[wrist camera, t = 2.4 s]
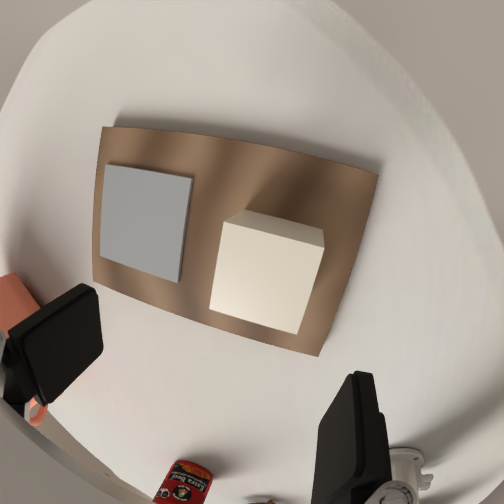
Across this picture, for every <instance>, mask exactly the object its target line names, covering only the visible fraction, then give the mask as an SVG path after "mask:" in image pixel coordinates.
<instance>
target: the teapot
mask: <svg viewBox="0 0 504 504" xmlns="http://www.w3.org/2000/svg"><path fill="white" fill-rule="evenodd" d="M39 309H41V308H40V306H39V305H38V304H37V302H36V301H35V300H34V298H33V297H32V294H31V293H30V291H29V290H28V289H27V288H26V287H25V286H24V285H23V283H22V282H21V280H20V279H19V277H18V276H17V274H16V273H11V274H8V275H5V276H3V277H0V330H1V331H3V333H4V334H5V336H6V339H7V338H9V335H8V332H7V331H8V330H9V329H11V328H12V327H14V326H15V325H17V324H18V323H20V322H21V321H22V320H24V319H25V318H27V317H28V316H30V315H31V314H33V313H35V312H36V311H38V310H39ZM63 392H64V391H63ZM63 392H62V393H63ZM62 393H61V394H62ZM61 394H60V395H61ZM60 395H59V396H60ZM36 403H38V402H36V401H35V399H34V397H33V398H32V399H31V401H30V409H31V408H32V407H33V406H34V405H35V404H36ZM47 408H48V404H47V405H46V406H45V407H43V406H41V405H40V407H39V411H38V413H37V415H36V416H35V417H33V418H30V425H32V426H37V425H39V424H41V423H42V422H43V421H44V419H45V416H46V413H47Z"/></svg>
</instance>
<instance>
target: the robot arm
mask: <svg viewBox="0 0 504 504" xmlns="http://www.w3.org/2000/svg"><path fill="white" fill-rule="evenodd" d="M7 332H8V335H9V338H7V339H6V336H5V334H4V333H3V331H1V330H0V504H157V503H154V502H152V501H150V500H148V499H145V498H143V497H141V496H139V495H137V494H135V493H133V492H131V491H129V490H127V489H125V488H123V487H121V486H119V485H117V484H115V483H114V482H112V481H110V480H108V479H106V478H105V477H103V476H101V475H100V474H98V473H96V472H95V471H93V470H91V469H90V468H88V467H87V466H85V465H84V464H82V463H81V462H79V461H78V460H76V459H75V458H73V457H72V456H70V455H69V454H67V453H66V452H65V451H63V450H62V449H60V448H59V447H58V446H56V445H55V444H54V443H52V442H51V441H50V440H49V439H47V438H46V437H45V436H43V435H42V434H41V433H40V432H39V431H37V430H36V429H35V428H34V427H33V426H32V425H30V401H31V399H32V398H33V397H34V399H35V401H36V402H38V403H39V404H40V405H41V406H43V407H45V406H46V405H47V404H48V403H52V402H54V400H55V399H56V398H57V397H58V396H59V395H60V394H61V393H62V392H63V391H64V390H65V389H66V388H67V387H68V386H69V385H70V384H71V383H72V382H73V381H74V380H75V379H76V378H77V377H78V376H79V375H80V374H81V373H82V372H83V371H84V370H85V369H86V368H87V367H88V366H90V365H91V364H92V363H93V362H94V361H95V360H96V359H97V358H98V357H99V356H100V355H101V353H102V351H103V339H102V331H101V322H100V312H99V301H98V295H97V294H96V290H95V289H94V288H92V287H90V286H88V285H86V284H84V283H81V284H79V285H77V286H76V287H74V288H72V289H71V290H69V291H67V292H66V293H64V294H63V295H61V296H59V297H58V298H56V299H55V300H53V301H52V302H50V303H48V304H47V305H45V306H44V307H42V308H41V309H39V310H38V311H36V312H35V313H33V314H31V315H30V316H28V317H27V318H25V319H24V320H22V321H21V322H20V323H18V324H17V325H15V326H14V327H12V328H11V329H9V330H8V331H7ZM423 464H424V458H423V455H422V453H421V452H420V451H418V450H415V449H410V448H395V449H389V444H388V436H387V429H386V423H385V417H384V415H383V413H381V412H379V408H378V402H377V395H376V390H375V384H374V378H373V375H372V373H367V372H362V371H355V372H354V373H353V374H348V376H347V377H346V379H345V381H344V383H343V385H342V386H341V388H340V390H339V392H338V393H337V395H336V397H335V398H334V400H333V402H332V403H331V405H330V407H329V408H328V410H327V412H326V413H325V415H324V416H323V418H322V420H321V421H320V424H319V428H318V440H317V452H316V463H315V473H314V482H313V490H312V498H311V504H419V495H418V491H419V490H427V489H428V488H429V487H430V484H431V482H430V481H432V480H433V474H425V475H422V474H421V468H422V467H423Z"/></svg>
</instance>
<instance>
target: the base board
mask: <svg viewBox="0 0 504 504" xmlns="http://www.w3.org/2000/svg"><path fill="white" fill-rule="evenodd" d="M105 164H111V165H118V166H125V167H131V168H137V169H144V170H150V171H155V172H161V173H167V174H172V175H178V176H183V177H189V178H193V184H192V190H191V197H190V203H189V210H188V216H187V223H186V231H185V238H184V246H183V254H182V262H181V271H180V280H179V282H178V283H175V282H172V281H169V280H166V279H163V278H160V277H157V276H154V275H152V274H149V273H146V272H143V271H140V270H137V269H134V268H132V267H129V266H126V265H123V264H121V263H118V262H115V261H112V260H110V259H107V258H104V257H102V256H100V228H101V208H102V194H103V183H104V173H105ZM378 176H379V175H377V174H374V173H371V172H368V171H364V170H361V169H358V168H354V167H351V166H348V165H344V164H340V163H337V162H333V161H329V160H326V159H322V158H318V157H314V156H310V155H306V154H302V153H297V152H293V151H289V150H284V149H279V148H275V147H270V146H265V145H260V144H255V143H249V142H244V141H238V140H232V139H226V138H220V137H213V136H206V135H199V134H191V133H183V132H174V131H164V130H153V129H141V128H125V127H102V133H101V139H100V146H99V153H98V161H97V169H96V179H95V191H94V205H93V230H92V265H93V281H94V282H96V283H99V284H101V285H103V286H106V287H108V288H110V289H113V290H115V291H117V292H120V293H122V294H125V295H127V296H130V297H132V298H134V299H137V300H139V301H142V302H145V303H147V304H150V305H152V306H155V307H158V308H160V309H163V310H166V311H168V312H171V313H174V314H176V315H179V316H182V317H185V318H188V319H190V320H193V321H196V322H199V323H202V324H205V325H208V326H211V327H214V328H217V329H220V330H223V331H227V332H230V333H233V334H236V335H239V336H243V337H246V338H249V339H253V340H256V341H259V342H263V343H266V344H270V345H274V346H277V347H281V348H285V349H288V350H292V351H296V352H300V353H304V354H308V355H312V356H316V357H318V356H319V354H320V351H321V349H322V347H323V344H324V342H325V339H326V337H327V335H328V332H329V330H330V327H331V325H332V322H333V320H334V317H335V314H336V312H337V309H338V306H339V304H340V301H341V298H342V296H343V293H344V290H345V287H346V284H347V282H348V279H349V276H350V273H351V270H352V267H353V264H354V261H355V258H356V255H357V252H358V248H359V245H360V242H361V239H362V235H363V232H364V229H365V225H366V222H367V218H368V215H369V211H370V207H371V204H372V200H373V196H374V192H375V188H376V184H377V180H378ZM244 209H245V210H249V211H253V212H257V213H261V214H265V215H269V216H273V217H277V218H281V219H285V220H289V221H293V222H297V223H300V224H304V225H308V226H312V227H315V228H319V229H323V236H324V247H325V248H324V252H323V255H322V258H321V262H320V265H319V268H318V272H317V275H316V278H315V281H314V285H313V288H312V291H311V294H310V297H309V300H308V303H307V306H306V309H305V312H304V315H303V318H302V321H301V324H300V327H299V330H298V333H297V335H296V334H293V333H289V332H285V331H281V330H278V329H274V328H271V327H267V326H264V325H260V324H257V323H253V322H250V321H246V320H243V319H240V318H236V317H233V316H230V315H227V314H223V313H220V312H217V311H214V310H211V309H209V306H210V300H211V294H212V287H213V281H214V275H215V269H216V263H217V257H218V251H219V246H220V240H221V234H222V229H223V223H224V221H226V220H227V219H229V218H231V217H233V216H234V215H236V214H238V213H239V212H241V211H243V210H244Z"/></svg>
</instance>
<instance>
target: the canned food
mask: <svg viewBox="0 0 504 504" xmlns="http://www.w3.org/2000/svg"><path fill="white" fill-rule="evenodd" d="M211 484H212V474H211V473H210V472H209V471H208V470H206V469H205V468H203V467H201V466H199V465H197V464H194V463H191V462H187V461H177V462H175V463H174V464H173V465H172V466H171V468H170V470H169V472H168V474H167V476H166V477H165V479H164V481H163V483H162V485H161V486H160V488H159V490H158V492H157V494H156V495H155V497H154V499H153V501H152V502H154V503H157V504H203V503H204V501H205V498H206V496H207V494H208V491H209V489H210V486H211Z"/></svg>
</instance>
